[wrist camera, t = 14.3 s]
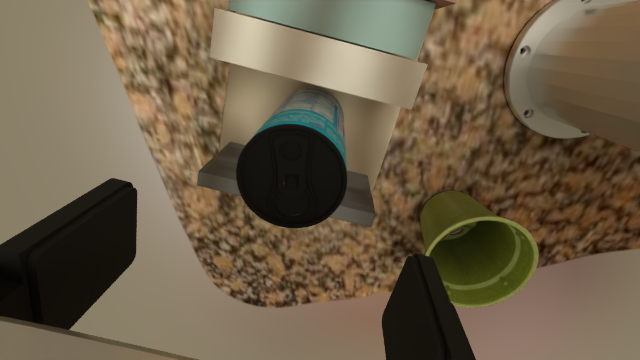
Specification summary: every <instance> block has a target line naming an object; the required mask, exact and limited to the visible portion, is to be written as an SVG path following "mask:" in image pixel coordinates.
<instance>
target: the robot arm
mask: <svg viewBox="0 0 640 360" xmlns="http://www.w3.org/2000/svg"><path fill="white" fill-rule="evenodd" d="M521 48H522V49H523V52H522V53H521V54H520V50H521ZM504 88H505V95H506V99H507V102H508V105H509V107H510V109H511V110H512V112H513V114H514V116H515V117H516V118H517V119H518V120H519V121H520V122H521V123H522V124H523V125H525V126H526V127H528V128H529V129H531V130H533V131H535V132H537V133H539V134H541V135H544V136H548V137H552V138H562V139H570V138H579V137H584V136H588V135H591V134H593V135H596V136H598V137H601V138H604V139H606V140H609V141H611V142H614V143H617V144H619V145H622V146H625V147H627V148H630V149H633V150H635V151H638V152H640V0H553V1H552V2H550V3H549V4H548V5H546V6H545V7H544V8H542V9H541V10H540V11H539V12H538V13H537V14H536V15H535V16H534V17H533V18H532V19H531V20H530V21H529V22H528V23H527V24H526V26H525V27H524V28H523V30H522V31H521V33H520V34H519V36H518V37H517V39H516V41H515V43H514V45H513V47H512V49H511V51H510V53H509V57H508V60H507V63H506V67H505V76H504ZM525 111H526V113H525V114H524V112H525ZM136 228H137V190H136V188H133V185H132V183H130V182H126V181H122V180H118V179H115V178H111V179H109V180H107V181H106V182H104V183H102V184H101V185H99V186H97V187H96V188H94V189H92V190H91V191H89V192H88V193H86V194H84V195H82V196H81V197H79V198H77V199H76V200H74V201H72V202H71V203H69V204H67V205H66V206H64V207H62V208H61V209H59V210H57V211H56V212H54V213H52V214H51V215H49V216H47V217H46V218H44V219H42V220H41V221H39V222H37V223H36V224H34V225H33V226H31V227H29V228H28V229H26V230H24V231H23V232H21V233H19V234H18V235H16V236H14V237H12V238H11V239H9V240H7V241H6V242H4V243H2V244H1V245H0V360H198V359H193V358H189V357H185V356H180V355H176V354H172V353H168V352H163V351H159V350H155V349H150V348H146V347H141V346H137V345H132V344H128V343H124V342H119V341H115V340H111V339H105V338H102V337H97V336H93V335H88V334H84V333H80V332H75V331H71V330H69V329H70V328H71V327H72V326H73V325H74V324H75V323H76V322H77V321H78V319H80V318H81V317H82V316H83V315H84V313H85V312H86V311H87V310H88V309H89V308H90V307H91V306H92V305H93V304H94V303H95V302H96V301H97V300H98V299H99V298H100V296H101V295H102V294H103V293H104V292H105V291H106V290H107V289H108V288H109V287H110V286H111V285H112V284H113V283H114V282H115V281H116V280H117V279H118V277H119V276H120V275H121V274H122V273H123V272H124V271H125V270H126V269H127V268H128V267H129V266H130V265H131V264H132V262H133V260H134V258H135V255H136ZM382 329H383V337H384V345H385V353H386V360H476V359H475V356H474V354H473V351H472V349H471V346H470V344H469V342H468V339H467V337H466V334H465V332H464V329H463V327H462V324H461V322H460V319H459V317H458V314H457V312H456V309H455V307H454V305H453V303H451V301H450V299H449V296H448V294H447V291H446V289H445V286H444V284H443V281H442V279H441V276H440V274H439V271H438V269H437V266H436V264H435V261H434V259H433V258H432V257H429V256H425V255H421V254H417V253H416V254H414V255H413V257H412V256H408V258H407V259H406V262H405V264H404V266H403V269H402V271H401V273H400V275H399V278H398V280H397V282H396V285H395V287H394V289H393V292H392V294H391V296H390V299H389V301H388V303H387V306H386V308H385V310H384V313H383V316H382Z"/></svg>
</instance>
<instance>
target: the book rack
mask: <svg viewBox="0 0 640 360" xmlns="http://www.w3.org/2000/svg"><path fill="white" fill-rule="evenodd" d="M456 2H457V0H230V1H229V10H232V11H236V13H234V12H230V11H226V10H222V9H218V8H215V9H214V19H213V29H212V38H211V48H210V58H214V59H218V60H222V61H225V62H229V63H230V67H229V75H228V83H227V91H226V99H225V107H224V115H223V123H222V130H221V138H220V146H219V153H218V154H217V155H216V156H214V157H213V158H212V159H211V160H210V161H209V162H208V163H207V164H206V165H205V166H204V167H203V168H202V169H201V170H200V171H199V173H198V183H197V185H198V186H202V187H207V188H211V189H215V190H219V191H223V192H227V193H231V194H236V195H240V196H241V194H240V192H239V189H238V185H237V180H236V168H237V162H238V159H239V156H240V154H241V152H242V150H243V148H244V147H245V145H246V144H247V143H248V142H249V141H250V140H251V139H252V137H253V136H254V135H255V134H256V133H257V131H258V130H259V129H260V128H261V127H262V126H263V124H264V123H265V122H266V121H267V120H268V119H269V118H270V116H271V115H272V114H273V113H274V112H275V111H276V110H277V109H278V108H279V107H280V105H281V104H282V103H283V102H284V101H285V100H286V99H287V97H288V96H290V95H291V94H292V93H293V92H295V91H297V90H299V89H301V88H305V87H317V88H322V89H324V90H326V91H328V92H329V93H331V94H332V95H334V97H335V98H336V99H337V100H338V101H339V103H340V105H341V107H342V110H343V113H344V129H345V144H346V163H347V188H346V192H345V196H344V198H343V200H342V202H341V204H340V205H339V207H338V208H337V209H336V211H335V212H334V213H333V214H332V215H330V216H329V217H331V218H335V219H339V220H343V221H348V222H352V223H356V224H360V225H364V226H368V227H371V226H372V223H373V220H374V217H375V215H376V214H375V209H374V204H373V199H372V192H373V189H374V186H375V183H376V180H377V177H378V174H379V171H380V168H381V165H382V162H383V159H384V157H385V154H386V151H387V148H388V145H389V142H390V139H391V136H392V133H393V130H394V127H395V124H396V121H397V119H398V116H399V113H400V110H401V107H403V108H407V109H411V110H412V107H413V104H414V102H415V99H416V96H417V93H418V90H419V88H420V85H421V82H422V79H423V76H424V73H425V71H426V68H427V65H428V64H425V63H421V62H418V61H417V60H418V57H419V54H420V51H421V48H422V45H423V42H424V39H425V37H426V34H427V31H428V28H429V25H430V22H431V19H432V16H433V13H434V10H435V9H439V8H442V7H445V6H449V5H452V4H455V3H456Z"/></svg>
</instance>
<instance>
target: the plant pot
mask: <svg viewBox="0 0 640 360" xmlns="http://www.w3.org/2000/svg"><path fill="white" fill-rule="evenodd" d="M420 223H421V229H422V234H423V240H424V246H425V254H424V255H425V256H429V257H432V258H433V259H434V261H435V264H436V266H437V269H438V271H439V274H440V276H441V279H442V281H443V284H444V286H445V289H446V291H447V294H448V296H449V299H450V301H451V303H453V305H454V306H458V307H464V308H478V307H486V306H490V305H493V304H496V303H499V302H502V301H504V300H506V299H508V298H510V297H512V296H513V295H515V294H516V293H517V292H518V291H520V290H521V289H522V288H523V287H524V286H525V285H526V284H527V283H528V281H529V280H530V279H531V278H532V276H533V274H534V272H535V270H536V267H537V264H538V255H539V253H538V247H537V244H536V242H535V240H534V238H533V236H532V235H531V234H530V233H529V232H528V231H527V230H526V229H525V228H524V227H523V226H521V225H520V224H518V223H517V222H515V221H513V220H510V219H507V218H504V217H499V216H496V215H495V214H494V213H492V212H491V211H489V210H488V209H487V208H485V207H484V206H483V205H481V204H480V203H479V202H477V201H476V200H475V199H473V198H472V197H471V196H470V195H468V194H466V193H462V192H458V191H444V192H441V193H439V194H436V195H435V196H433V197H431V198H430V199H429V200H428V201H427V202H426V203H425V205H424V208H423V210H422V212H421V214H420ZM459 229H463V230H462V231H461V232H460V233H458V234H454V235H451V233H452V232H455V231H458V230H459Z"/></svg>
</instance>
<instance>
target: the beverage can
mask: <svg viewBox="0 0 640 360" xmlns="http://www.w3.org/2000/svg"><path fill="white" fill-rule="evenodd" d="M236 180H237V185H238V189H239V192H240V194H241V196H242V198H243V200H244V201H245V203H246V204H247V206H248V207H249V208H250V209H251V210H252V211H253V212H254V213H255V214H256V215H258V216H259V217H260V218H262V219H264V220H265V221H267V222H269V223H272V224H274V225H277V226H281V227H286V228H303V227H309V226H312V225H315V224H318V223H320V222H322V221H323V220H325V219H327V218H328V217H329V216H330V215H332V214H333V213H334V212H335V211H336V209H337V208H338V207H339V205H340V204H341V202H342V200H343V198H344V196H345V192H346V188H347V163H346V144H345V129H344V113H343V110H342V107H341V105H340V103H339V101H338V100H337V99H336V98H335V97H334V95H332V94H331V93H329V92H328V91H326V90H324V89H322V88H317V87H305V88H301V89H299V90H297V91H295V92H293V93H292V94H291V95H290V96H288V97H287V99H286V100H285V101H284V102H283V103H282V104H281V105H280V107H279V108H278V109H277V110H276V111H275V112H274V113H273V114H272V115H271V116H270V118H269V119H268V120H267V121H266V122H265V123H264V124H263V126H262V127H261V128H260V129H259V130H258V131H257V133H256V134H255V135H254V136H253V137H252V139H251V140H250V141H249V142H248V143H247V144H246V145H245V147H244V148H243V150H242V152H241V154H240V156H239V159H238V162H237V168H236Z"/></svg>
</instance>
